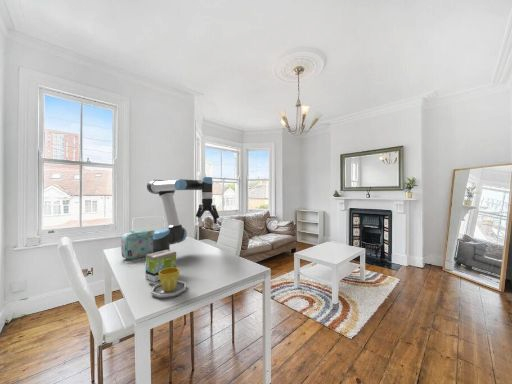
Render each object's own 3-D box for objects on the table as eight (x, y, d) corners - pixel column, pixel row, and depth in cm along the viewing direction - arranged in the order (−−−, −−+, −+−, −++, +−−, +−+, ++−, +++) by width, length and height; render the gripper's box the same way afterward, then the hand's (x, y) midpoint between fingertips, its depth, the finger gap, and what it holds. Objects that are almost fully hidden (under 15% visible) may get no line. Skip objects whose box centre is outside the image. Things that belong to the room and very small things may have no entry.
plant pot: (154, 291, 113) (154, 272, 113) (168, 283, 123) (168, 266, 123) (169, 295, 110) (169, 275, 110) (183, 286, 119) (183, 268, 119)
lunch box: (126, 262, 162) (126, 233, 162) (118, 259, 168) (118, 232, 167) (158, 253, 185) (158, 228, 185) (151, 251, 190) (151, 227, 190)
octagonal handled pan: (135, 290, 117) (135, 286, 117) (162, 279, 132) (162, 275, 132) (166, 302, 105) (166, 297, 105) (192, 288, 120) (192, 284, 120)
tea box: (155, 282, 127) (154, 257, 127) (145, 278, 133) (144, 254, 132) (176, 274, 140) (176, 251, 140) (166, 270, 145) (166, 248, 145)
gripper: (190, 198, 162) (191, 226, 162) (217, 198, 150) (217, 229, 150) (198, 197, 169) (198, 225, 169) (224, 198, 156) (224, 227, 157)
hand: (207, 227), depth 159 cm, fingers open, 13 cm apart
